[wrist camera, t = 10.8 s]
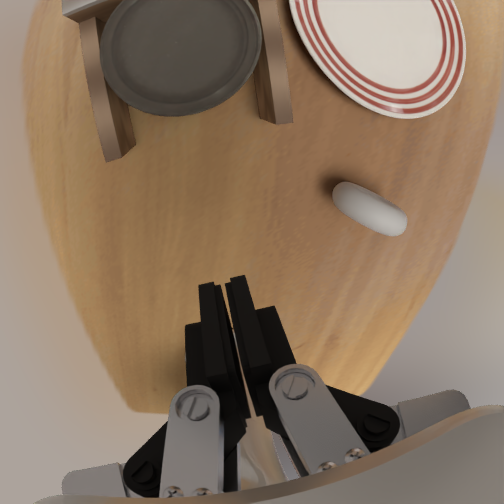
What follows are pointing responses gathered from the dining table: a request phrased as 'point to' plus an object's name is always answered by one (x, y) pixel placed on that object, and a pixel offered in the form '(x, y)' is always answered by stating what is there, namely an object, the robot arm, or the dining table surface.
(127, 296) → the dining table surface
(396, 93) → the dinner plate
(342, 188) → the donut
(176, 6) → the coffee can
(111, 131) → the frame
